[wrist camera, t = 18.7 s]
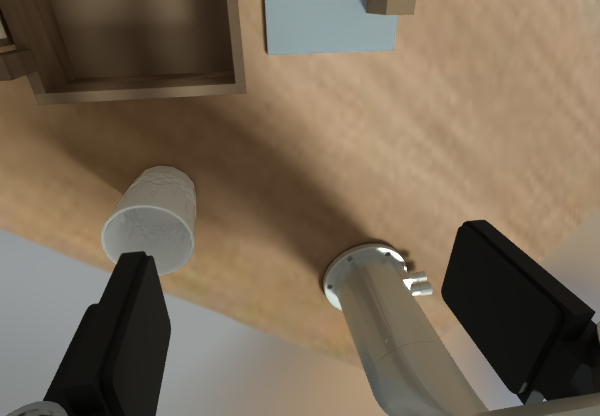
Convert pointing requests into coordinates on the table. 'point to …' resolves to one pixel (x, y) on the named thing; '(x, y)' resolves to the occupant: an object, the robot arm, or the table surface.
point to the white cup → (154, 219)
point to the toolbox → (123, 48)
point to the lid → (332, 25)
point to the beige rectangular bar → (2, 32)
